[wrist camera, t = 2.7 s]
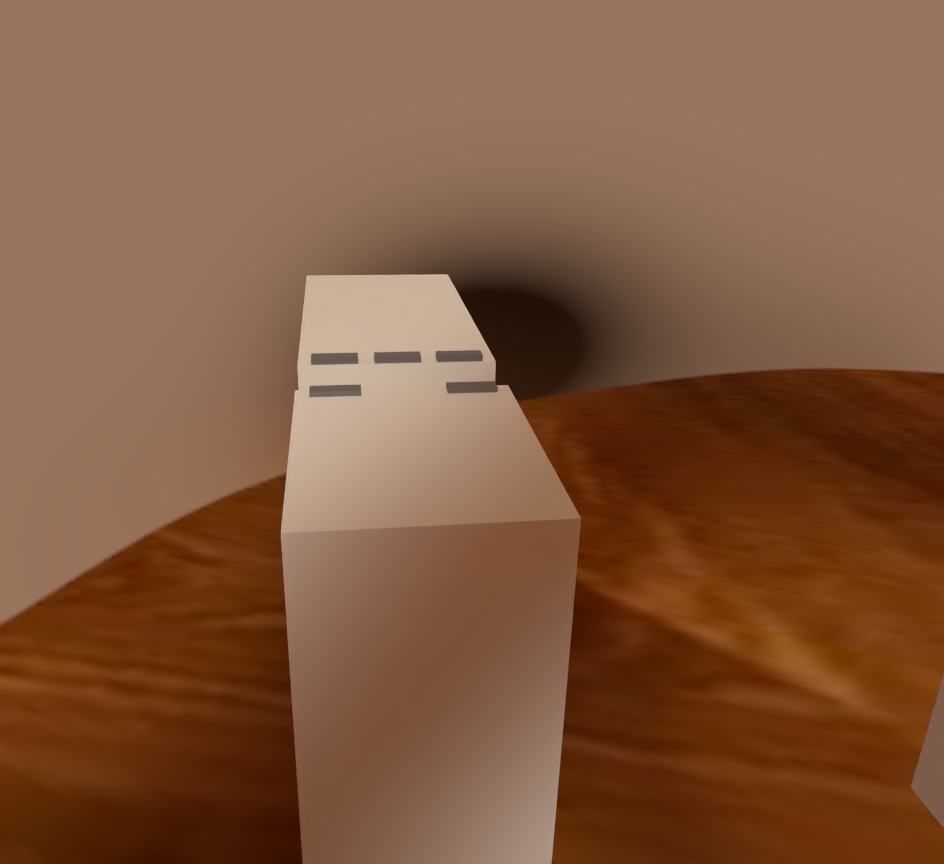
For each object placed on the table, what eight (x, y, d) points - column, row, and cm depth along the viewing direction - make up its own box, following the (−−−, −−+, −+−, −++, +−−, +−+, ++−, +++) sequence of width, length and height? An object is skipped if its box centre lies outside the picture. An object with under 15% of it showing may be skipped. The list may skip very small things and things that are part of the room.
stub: (494, 716, 30) (509, 380, 25) (547, 929, 22) (584, 511, 18) (312, 731, 29) (293, 385, 24) (306, 958, 22) (277, 526, 17)
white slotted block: (444, 518, 42) (448, 269, 38) (484, 677, 32) (497, 355, 27) (315, 525, 42) (303, 270, 37) (310, 690, 31) (291, 359, 26)
